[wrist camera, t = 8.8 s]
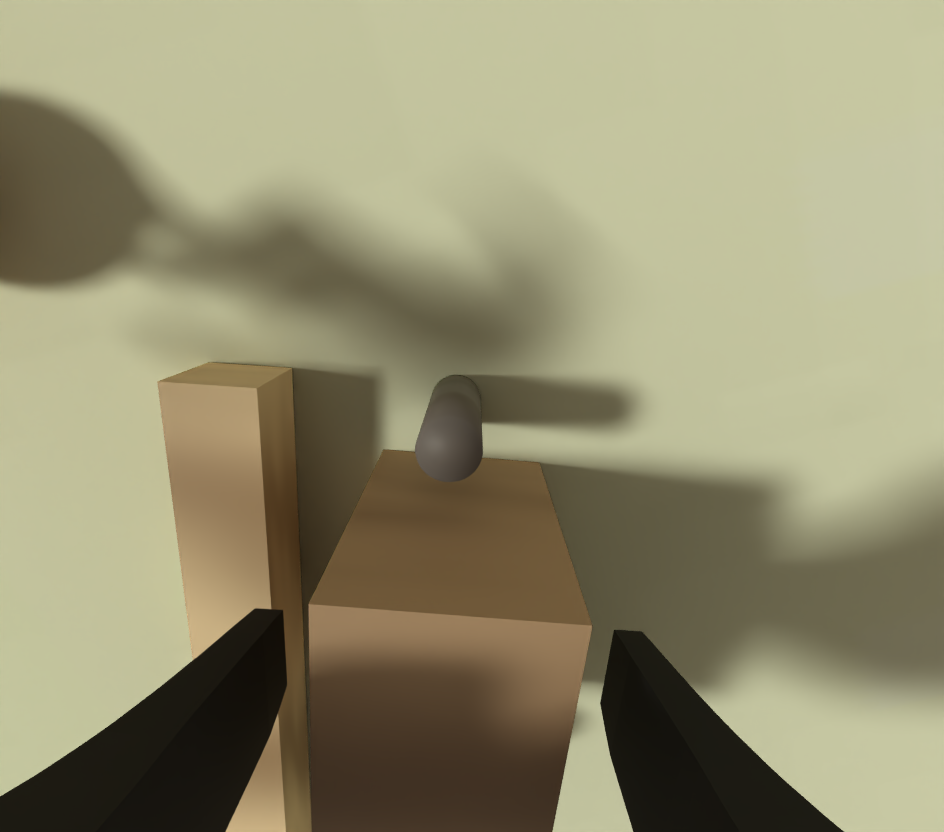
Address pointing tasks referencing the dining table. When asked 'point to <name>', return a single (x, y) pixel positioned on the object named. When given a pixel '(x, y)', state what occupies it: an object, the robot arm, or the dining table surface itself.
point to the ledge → (269, 534)
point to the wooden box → (445, 655)
